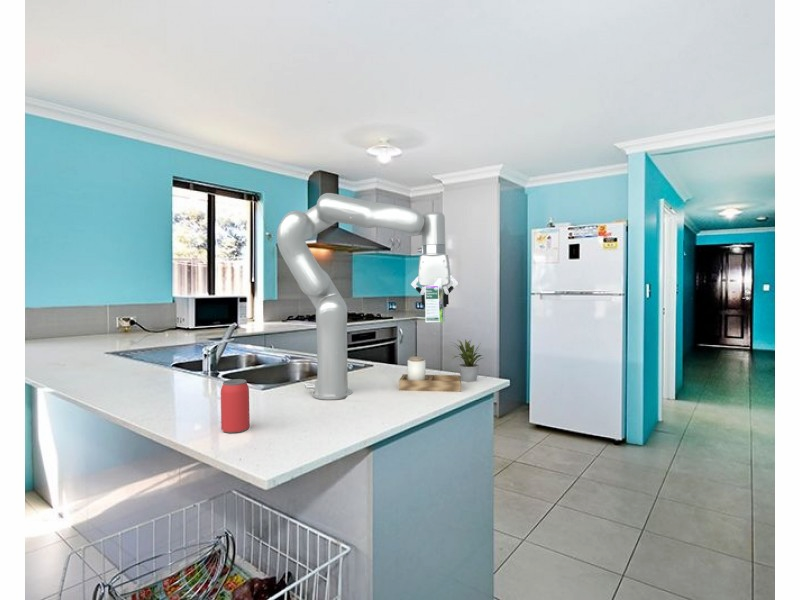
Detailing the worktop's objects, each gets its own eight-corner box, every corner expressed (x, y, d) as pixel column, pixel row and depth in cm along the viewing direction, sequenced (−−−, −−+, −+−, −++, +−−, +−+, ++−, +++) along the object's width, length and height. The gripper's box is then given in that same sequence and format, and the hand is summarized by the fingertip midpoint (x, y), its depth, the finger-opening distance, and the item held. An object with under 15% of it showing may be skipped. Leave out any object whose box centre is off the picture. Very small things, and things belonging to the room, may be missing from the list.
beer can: (225, 426, 119) (224, 378, 119) (252, 425, 120) (251, 378, 119) (217, 434, 112) (216, 384, 112) (246, 433, 113) (245, 383, 113)
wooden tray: (398, 392, 154) (398, 380, 154) (403, 385, 164) (403, 374, 164) (460, 394, 151) (460, 381, 151) (460, 387, 162) (460, 375, 162)
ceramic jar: (406, 388, 156) (406, 358, 156) (408, 384, 162) (408, 355, 162) (424, 389, 155) (424, 359, 155) (426, 385, 161) (426, 356, 161)
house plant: (437, 380, 172) (437, 336, 171) (466, 376, 180) (466, 333, 179) (463, 388, 160) (463, 340, 159) (493, 383, 168) (493, 337, 167)
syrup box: (425, 323, 151) (423, 277, 150) (428, 321, 157) (427, 277, 156) (442, 322, 150) (441, 277, 149) (445, 321, 155) (444, 277, 155)
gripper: (405, 251, 150) (407, 308, 151) (460, 249, 147) (461, 307, 148) (409, 252, 157) (410, 306, 158) (461, 250, 155) (462, 305, 155)
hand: (435, 306), depth 153 cm, fingers closed on syrup box, 5 cm apart
